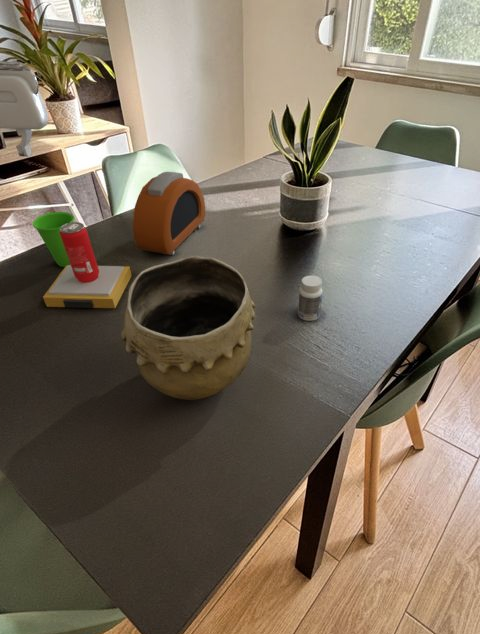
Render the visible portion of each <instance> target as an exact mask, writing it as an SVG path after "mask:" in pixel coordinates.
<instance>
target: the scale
mask: <svg viewBox="0 0 480 634" xmlns="http://www.w3.org/2000/svg"><path fill="white" fill-rule="evenodd" d="M97 266H98V269H99V277H98V279H97V280H95V281H93V282H90V283H81V282H79V281H78V279H77V278H76V277H75V276H74V273H73V270H72V267H71V265H66V267H63V269H62V271H61V272H60V273H59V275H58V276H57V277H56V279H55V280H54V281H53V283H52V284H51V286H50V287H49V288H48V290H47V291H46V292H45V294H44V295H43V296H42V299H43V301H44V304H45V305H46V307H48V308H50V307H51V308H77V309H79V308H81V309H116V308H117V305H118V304H119V301H120V300H121V299H122V296H123V293H124V292H125V290H126V288H127V286H128V284H129V282H130V280H131V278H132V276H133V274H132V270H131V267H130V266H129V265H126V266H124V265H97Z"/></svg>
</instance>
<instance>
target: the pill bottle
mask: <svg viewBox="0 0 480 634" xmlns="http://www.w3.org/2000/svg"><path fill="white" fill-rule="evenodd" d="M322 286H323V281H322V279H321V277H319V276H316V275H306V276H304V277H303V278H301V284H300V287H299V290H298V306H297V315H298V317H299V318H300V319H301V320H304V321H306V322H311V321H316V320H318V319H319V318H320V317H321V313H322V302H323V292H324V291H323V287H322Z"/></svg>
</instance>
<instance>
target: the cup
mask: <svg viewBox="0 0 480 634" xmlns="http://www.w3.org/2000/svg"><path fill="white" fill-rule="evenodd" d="M72 222H75V216H74V215H73V214H72V213H71V212H68V211H67V212H66V211H54V212H48V213H44V214H42V215H40V216H38V217H36V218H35V219H34V220H33V222H32V227H33V228H34V229H36V231H37V232H38V234H39V236H40V237H41V239H42V241H43V243H44V244H45V246H46V247H47V249H48V251H49V253H50V255H51V256H52V258H53V260H54V261H55V263H56V264H57V265H58V266H59V267H62V268H65V267H66V265H71V264H70V261H69V259H68V256H67V253H66V250H65V247H64V245H63V242H62V239H61V236H60V227H61V226H63V225H65V224H67V223H72Z"/></svg>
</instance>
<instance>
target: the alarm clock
mask: <svg viewBox="0 0 480 634" xmlns="http://www.w3.org/2000/svg"><path fill="white" fill-rule="evenodd" d="M205 218H206V202H205V197H204V194H203V191H202V189H201V187H200V186H199V184H198V183H197V182H196V181H194V180H193V179H190V178H186V177H184V174H183V173H182V172H176V171H163V172H161V173H159V174H157V175H156V176H153V177H152V178H150V179H149V180H148V181H147V183H145V185H143V186H142V188H141V190H140V192H139V194H138V196H137V199H136V202H135V205H134V210H133V216H132V234H133V239H134V243H135V246H136V248H137V249H139V250H142V251H148V252H153V253H159V254H163V255H170V256H174V255H175V250H176V249H177V248H178V247H179V246H180V245H181V244H182V243H183V242H184V241H185V240H186V239H187V238H188V237H189V236H190V235H191V234H192V233H193V232H194V231H195V230H196V229H197V230H198V229H200V228H201V224H202V223H203V222H204V221H205Z"/></svg>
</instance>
